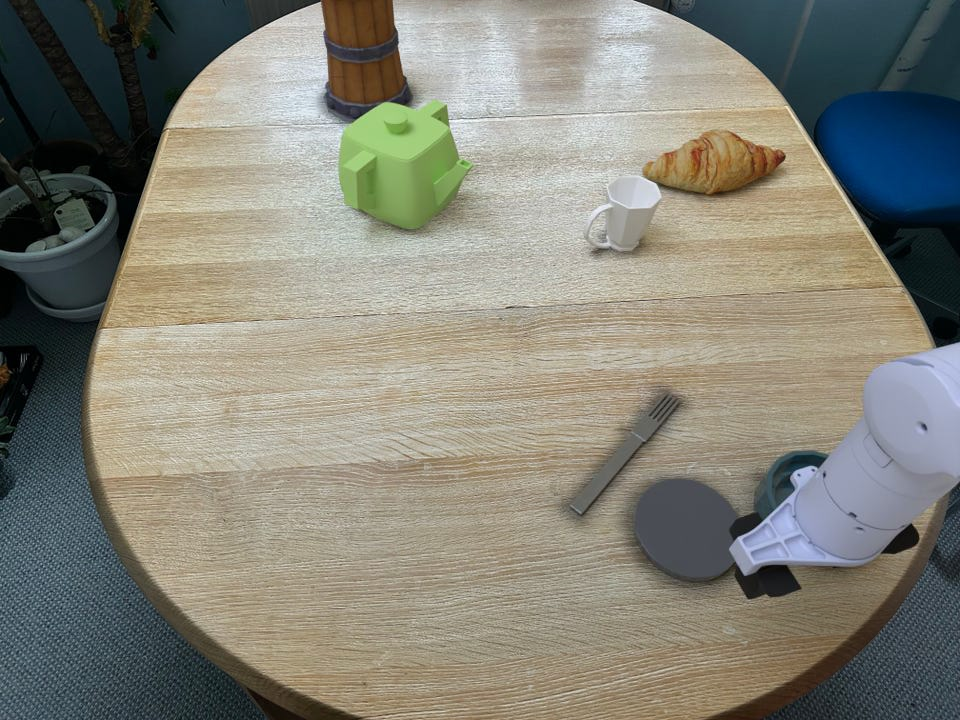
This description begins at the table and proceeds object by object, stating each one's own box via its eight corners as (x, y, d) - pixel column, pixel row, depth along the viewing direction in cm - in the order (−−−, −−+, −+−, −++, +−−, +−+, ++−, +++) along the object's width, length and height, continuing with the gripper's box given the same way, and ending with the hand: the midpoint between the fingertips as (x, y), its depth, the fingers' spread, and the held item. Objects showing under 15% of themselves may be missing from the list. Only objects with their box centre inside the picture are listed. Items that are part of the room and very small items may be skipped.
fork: (582, 517, 65) (583, 515, 64) (567, 506, 65) (568, 503, 65) (679, 402, 73) (680, 400, 73) (665, 394, 74) (666, 391, 74)
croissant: (641, 213, 98) (660, 189, 91) (629, 149, 100) (646, 121, 92) (778, 197, 100) (807, 172, 93) (763, 135, 102) (791, 106, 94)
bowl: (875, 512, 65) (896, 493, 62) (834, 588, 61) (854, 572, 58) (780, 453, 69) (795, 432, 66) (734, 520, 65) (747, 501, 62)
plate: (757, 525, 64) (761, 521, 64) (705, 604, 60) (709, 601, 59) (667, 464, 68) (670, 459, 68) (612, 534, 64) (614, 529, 63)
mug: (297, 77, 114) (270, -53, 98) (373, 55, 119) (359, -72, 103) (348, 133, 104) (328, -2, 88) (429, 106, 109) (423, -26, 93)
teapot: (509, 192, 95) (514, 108, 85) (423, 273, 85) (418, 188, 75) (406, 148, 102) (400, 64, 91) (315, 218, 91) (296, 133, 81)
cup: (659, 248, 89) (674, 199, 82) (595, 272, 86) (606, 223, 79) (628, 217, 92) (640, 168, 86) (566, 239, 89) (574, 189, 83)
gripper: (919, 405, 45) (833, 498, 56) (733, 464, 42) (679, 551, 53) (1000, 496, 41) (890, 577, 52) (800, 569, 38) (727, 640, 49)
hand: (787, 570), depth 52 cm, fingers open, 7 cm apart
